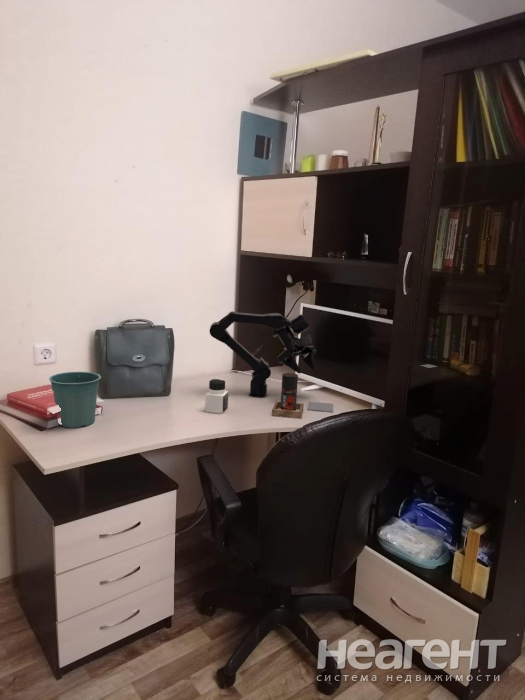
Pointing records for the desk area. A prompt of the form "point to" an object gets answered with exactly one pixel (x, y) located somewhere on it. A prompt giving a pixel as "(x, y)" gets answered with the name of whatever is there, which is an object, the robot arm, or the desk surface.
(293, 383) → the deodorant
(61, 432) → the desk surface
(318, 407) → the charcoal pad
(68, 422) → the flower pot
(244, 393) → the desk surface
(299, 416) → the walnut collar
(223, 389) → the medicine bottle
